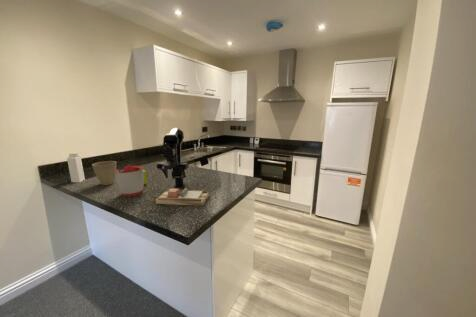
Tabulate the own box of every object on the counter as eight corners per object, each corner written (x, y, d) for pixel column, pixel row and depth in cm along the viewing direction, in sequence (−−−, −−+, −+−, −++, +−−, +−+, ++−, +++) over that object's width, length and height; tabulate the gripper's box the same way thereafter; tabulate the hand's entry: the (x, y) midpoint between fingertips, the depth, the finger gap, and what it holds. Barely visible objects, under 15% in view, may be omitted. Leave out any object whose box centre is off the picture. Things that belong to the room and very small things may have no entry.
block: (172, 197, 122) (171, 188, 121) (179, 197, 122) (179, 188, 120) (168, 200, 117) (167, 191, 116) (176, 201, 117) (175, 191, 115)
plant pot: (112, 179, 157) (109, 160, 153) (123, 182, 150) (120, 162, 146) (91, 185, 144) (87, 164, 140) (102, 188, 137) (98, 166, 133)
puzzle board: (167, 194, 127) (166, 189, 126) (208, 195, 124) (208, 190, 124) (156, 203, 113) (155, 198, 113) (202, 205, 111) (202, 200, 110)
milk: (77, 180, 155) (71, 153, 150) (85, 179, 155) (80, 152, 151) (71, 182, 149) (65, 154, 144) (79, 182, 149) (74, 154, 145)
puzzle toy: (142, 180, 153) (141, 168, 151) (147, 183, 146) (145, 171, 144) (128, 183, 147) (126, 171, 144) (132, 187, 140) (131, 173, 137)
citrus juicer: (130, 187, 138) (127, 160, 134) (150, 190, 133) (147, 162, 129) (110, 196, 123) (106, 166, 119) (132, 199, 119) (128, 168, 114)
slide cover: (185, 192, 124) (185, 186, 123) (202, 192, 123) (202, 187, 122) (178, 199, 113) (178, 193, 112) (197, 200, 112) (197, 194, 111)
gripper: (150, 157, 112) (153, 182, 116) (181, 158, 111) (183, 183, 114) (159, 153, 123) (162, 176, 127) (188, 153, 121) (189, 177, 125)
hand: (174, 178), depth 123 cm, fingers open, 9 cm apart
